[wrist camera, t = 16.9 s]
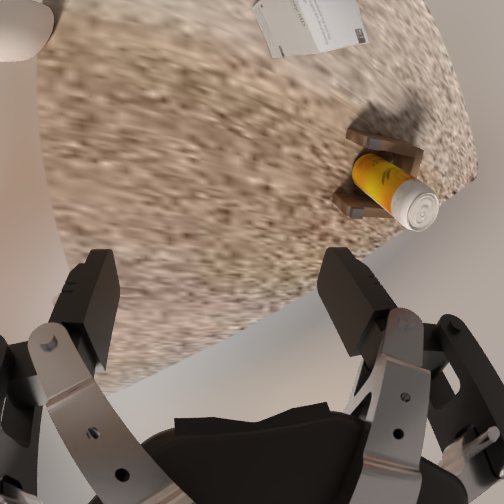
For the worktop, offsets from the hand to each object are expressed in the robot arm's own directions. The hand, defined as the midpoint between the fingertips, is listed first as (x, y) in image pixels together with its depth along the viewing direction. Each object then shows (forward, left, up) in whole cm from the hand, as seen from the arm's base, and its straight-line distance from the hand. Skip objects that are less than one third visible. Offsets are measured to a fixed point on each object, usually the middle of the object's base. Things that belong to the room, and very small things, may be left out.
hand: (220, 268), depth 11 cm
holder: (+4, +26, -30) cm, 40 cm away
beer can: (+4, +25, -30) cm, 40 cm away
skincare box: (-15, +9, -30) cm, 35 cm away
